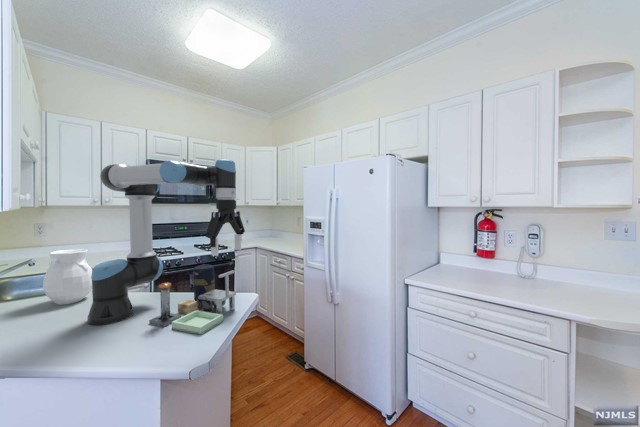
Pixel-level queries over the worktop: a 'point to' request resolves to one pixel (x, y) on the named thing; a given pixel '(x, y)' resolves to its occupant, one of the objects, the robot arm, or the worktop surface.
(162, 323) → the collar
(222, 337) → the worktop surface
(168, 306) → the pin
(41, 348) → the worktop surface
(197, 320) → the tray
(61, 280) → the white vase
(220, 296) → the trolley
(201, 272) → the canister
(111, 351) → the worktop surface
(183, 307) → the block
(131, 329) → the worktop surface
